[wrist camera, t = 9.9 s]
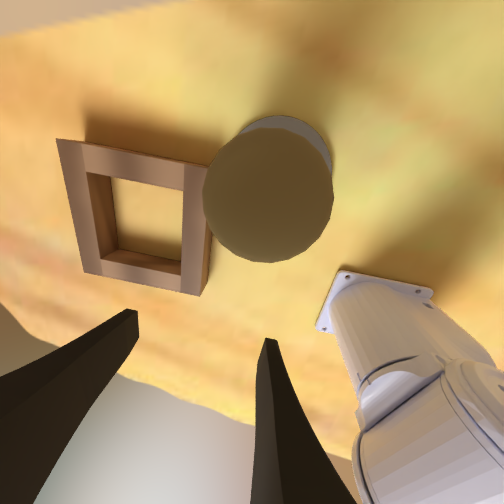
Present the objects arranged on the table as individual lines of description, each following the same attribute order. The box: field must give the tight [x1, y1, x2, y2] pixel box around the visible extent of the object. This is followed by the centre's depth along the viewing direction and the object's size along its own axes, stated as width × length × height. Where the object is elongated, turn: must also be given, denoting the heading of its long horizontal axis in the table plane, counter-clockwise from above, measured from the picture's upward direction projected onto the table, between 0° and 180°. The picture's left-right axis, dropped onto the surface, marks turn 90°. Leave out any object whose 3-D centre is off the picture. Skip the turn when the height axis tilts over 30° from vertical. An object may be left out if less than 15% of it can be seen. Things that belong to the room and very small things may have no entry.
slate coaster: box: [238, 116, 332, 176], centre depth 17 cm, size 9×9×1 cm
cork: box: [202, 127, 334, 263], centre depth 12 cm, size 6×6×11 cm
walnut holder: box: [56, 138, 212, 296], centre depth 19 cm, size 12×12×2 cm
